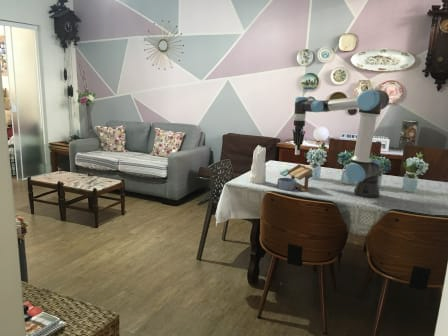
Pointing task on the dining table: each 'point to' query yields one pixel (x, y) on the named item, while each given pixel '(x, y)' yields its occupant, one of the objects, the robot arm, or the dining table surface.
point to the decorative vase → (258, 166)
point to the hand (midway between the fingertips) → (297, 154)
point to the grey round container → (286, 183)
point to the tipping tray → (298, 172)
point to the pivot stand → (301, 187)
